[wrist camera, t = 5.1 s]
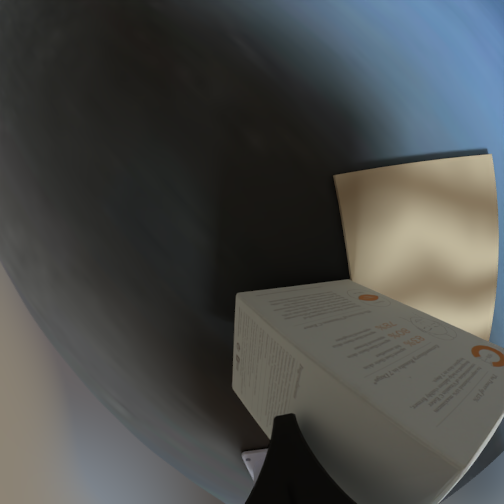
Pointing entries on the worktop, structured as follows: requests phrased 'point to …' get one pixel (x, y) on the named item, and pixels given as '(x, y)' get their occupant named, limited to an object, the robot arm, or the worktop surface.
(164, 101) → the worktop surface
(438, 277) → the board
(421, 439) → the small box
